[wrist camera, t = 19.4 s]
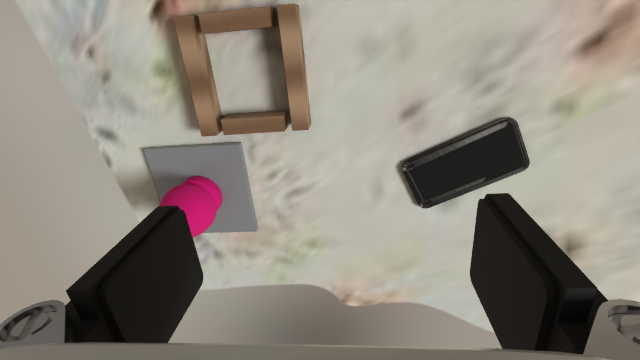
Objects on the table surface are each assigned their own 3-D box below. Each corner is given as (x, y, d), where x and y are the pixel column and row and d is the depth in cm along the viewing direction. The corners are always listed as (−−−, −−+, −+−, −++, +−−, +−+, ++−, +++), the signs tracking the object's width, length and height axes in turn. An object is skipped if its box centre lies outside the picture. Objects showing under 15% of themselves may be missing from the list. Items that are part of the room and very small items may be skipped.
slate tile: (147, 147, 48) (143, 149, 47) (241, 142, 46) (239, 144, 45) (173, 230, 54) (170, 233, 53) (257, 227, 52) (256, 231, 51)
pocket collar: (184, 17, 40) (172, 16, 38) (298, 5, 39) (294, 3, 36) (210, 129, 46) (201, 136, 43) (310, 123, 44) (308, 129, 42)
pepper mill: (227, 218, 51) (157, 324, 33) (181, 213, 51) (86, 315, 33) (224, 174, 48) (145, 265, 29) (175, 170, 48) (67, 256, 30)
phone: (399, 165, 45) (515, 115, 41) (398, 162, 46) (511, 113, 42) (421, 211, 48) (532, 168, 44) (420, 207, 49) (527, 165, 45)
